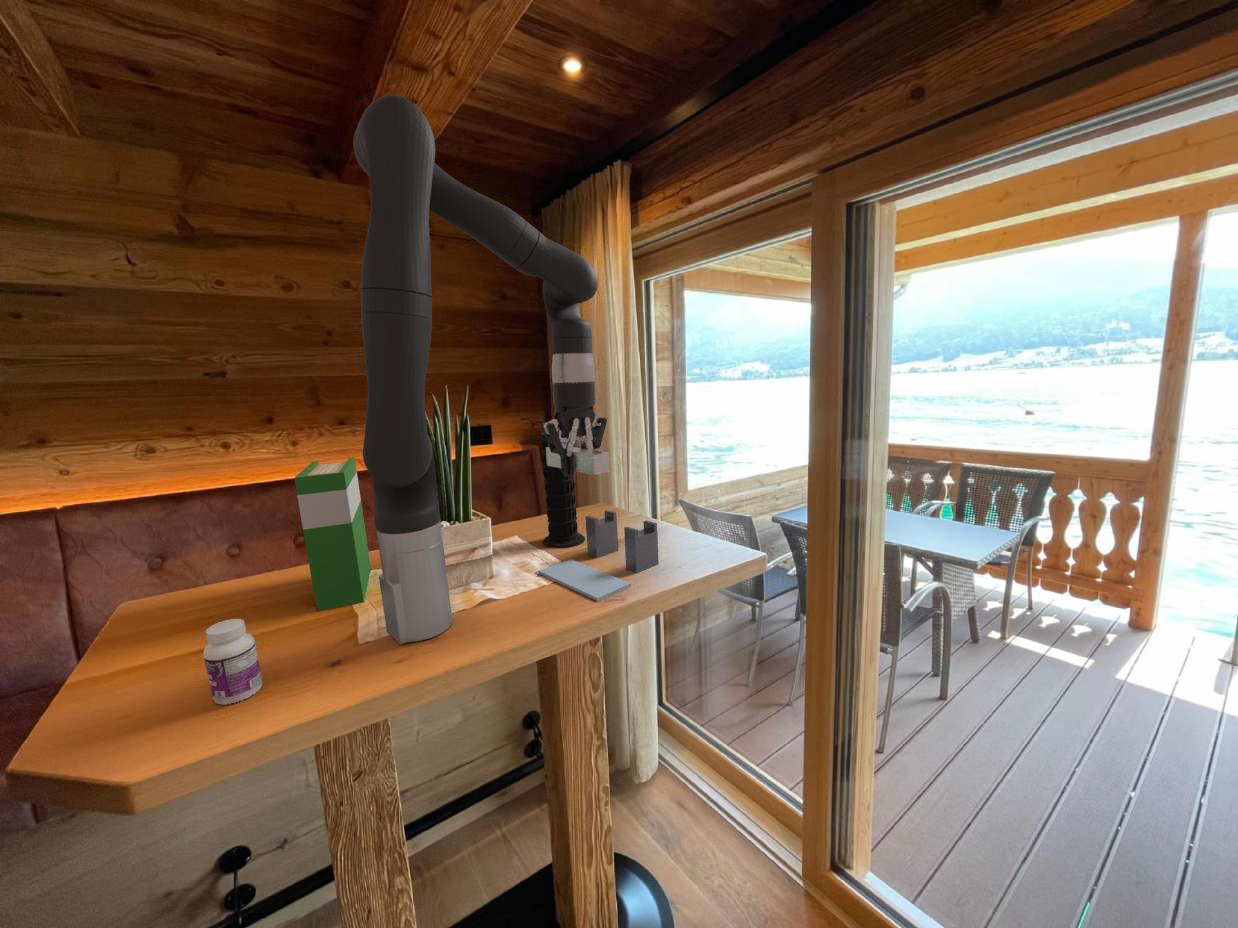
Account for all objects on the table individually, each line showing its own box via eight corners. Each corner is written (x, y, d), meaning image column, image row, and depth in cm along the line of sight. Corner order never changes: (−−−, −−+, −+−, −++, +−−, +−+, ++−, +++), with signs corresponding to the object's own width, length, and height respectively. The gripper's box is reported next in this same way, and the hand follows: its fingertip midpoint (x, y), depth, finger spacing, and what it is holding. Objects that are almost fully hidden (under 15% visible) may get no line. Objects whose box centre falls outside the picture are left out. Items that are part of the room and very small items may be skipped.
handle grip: (552, 532, 127) (534, 546, 117) (544, 426, 122) (525, 431, 112) (591, 534, 124) (575, 549, 114) (584, 425, 119) (567, 431, 109)
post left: (596, 558, 109) (594, 519, 107) (587, 554, 111) (585, 516, 109) (618, 550, 113) (616, 512, 111) (609, 547, 115) (607, 509, 113)
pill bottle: (206, 697, 67) (191, 629, 65) (252, 676, 71) (239, 612, 69) (223, 711, 64) (207, 640, 62) (270, 688, 68) (257, 621, 66)
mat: (597, 601, 89) (597, 597, 89) (538, 573, 102) (538, 570, 102) (630, 586, 94) (630, 583, 94) (571, 561, 107) (570, 559, 107)
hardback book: (331, 575, 106) (313, 461, 102) (371, 568, 109) (354, 457, 104) (317, 611, 90) (294, 477, 86) (363, 602, 93) (343, 472, 88)
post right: (636, 573, 100) (634, 530, 98) (626, 569, 102) (624, 527, 100) (658, 563, 104) (657, 523, 102) (647, 560, 106) (646, 520, 104)
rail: (594, 475, 88) (593, 455, 88) (546, 465, 99) (546, 447, 98) (609, 472, 91) (609, 452, 90) (561, 462, 101) (560, 445, 100)
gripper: (553, 381, 84) (558, 483, 87) (616, 378, 94) (619, 471, 97) (528, 381, 90) (533, 477, 93) (590, 378, 99) (593, 466, 102)
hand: (577, 474), depth 95 cm, fingers closed on rail, 3 cm apart
